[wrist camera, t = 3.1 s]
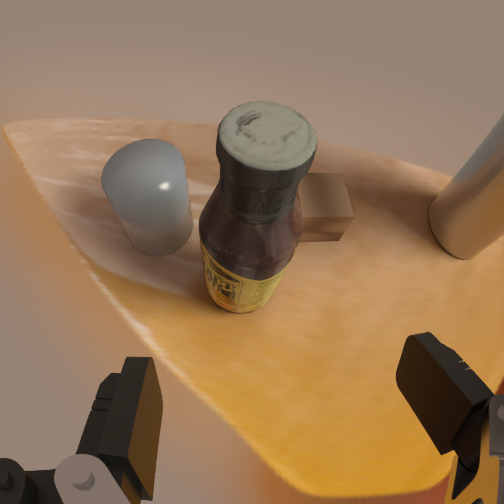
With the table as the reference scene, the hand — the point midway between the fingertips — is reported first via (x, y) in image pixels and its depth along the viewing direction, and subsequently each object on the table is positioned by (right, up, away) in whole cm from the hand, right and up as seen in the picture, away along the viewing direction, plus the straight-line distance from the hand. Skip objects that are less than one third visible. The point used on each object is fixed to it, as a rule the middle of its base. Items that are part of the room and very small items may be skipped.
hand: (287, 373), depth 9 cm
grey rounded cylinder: (-11, +6, +23) cm, 26 cm away
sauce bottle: (-2, 0, +21) cm, 21 cm away
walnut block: (+5, +7, +25) cm, 26 cm away
